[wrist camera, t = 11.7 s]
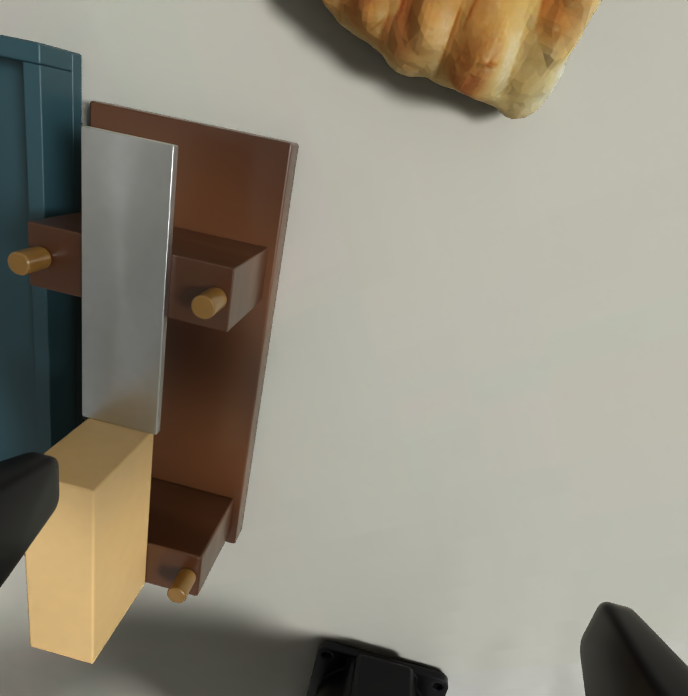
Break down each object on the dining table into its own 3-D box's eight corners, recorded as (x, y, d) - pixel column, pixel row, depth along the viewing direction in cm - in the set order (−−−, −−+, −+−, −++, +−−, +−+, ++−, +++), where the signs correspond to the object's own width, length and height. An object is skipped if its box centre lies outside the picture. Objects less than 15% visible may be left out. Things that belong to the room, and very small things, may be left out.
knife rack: (241, 529, 24) (192, 630, 19) (100, 492, 24) (15, 581, 19) (299, 143, 18) (247, 140, 12) (106, 102, 18) (-19, 84, 13)
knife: (150, 584, 20) (98, 666, 17) (86, 567, 20) (23, 645, 17) (178, 145, 14) (105, 144, 11) (87, 126, 14) (-12, 119, 11)
